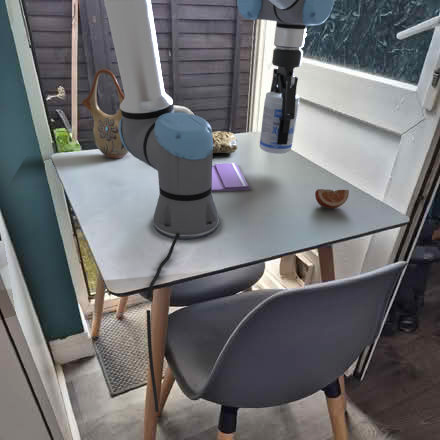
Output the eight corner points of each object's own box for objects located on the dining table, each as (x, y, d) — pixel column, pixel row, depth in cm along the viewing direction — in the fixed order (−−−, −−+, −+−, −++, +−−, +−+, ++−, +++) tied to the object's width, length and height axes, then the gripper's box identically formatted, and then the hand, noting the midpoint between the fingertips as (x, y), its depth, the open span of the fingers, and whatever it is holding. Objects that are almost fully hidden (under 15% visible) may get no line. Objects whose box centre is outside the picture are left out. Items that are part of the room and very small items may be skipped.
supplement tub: (272, 156, 110) (279, 99, 100) (252, 146, 116) (257, 92, 107) (298, 152, 114) (307, 97, 105) (278, 142, 120) (285, 90, 111)
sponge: (228, 149, 138) (173, 139, 132) (235, 128, 133) (178, 117, 127) (235, 169, 130) (177, 160, 124) (242, 148, 124) (181, 136, 118)
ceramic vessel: (143, 152, 129) (135, 67, 114) (138, 162, 122) (129, 72, 107) (94, 151, 129) (79, 65, 114) (86, 160, 122) (70, 70, 107)
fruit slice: (340, 202, 104) (345, 184, 101) (349, 213, 99) (353, 195, 96) (310, 202, 104) (313, 184, 101) (316, 213, 98) (320, 195, 95)
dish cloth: (249, 190, 109) (249, 186, 108) (203, 192, 107) (203, 187, 106) (236, 166, 122) (236, 162, 122) (195, 167, 120) (195, 164, 120)
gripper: (318, 54, 91) (301, 150, 105) (289, 43, 108) (278, 127, 122) (287, 53, 90) (275, 151, 104) (263, 42, 107) (255, 127, 121)
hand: (276, 138), depth 113 cm, fingers closed on supplement tub, 10 cm apart
